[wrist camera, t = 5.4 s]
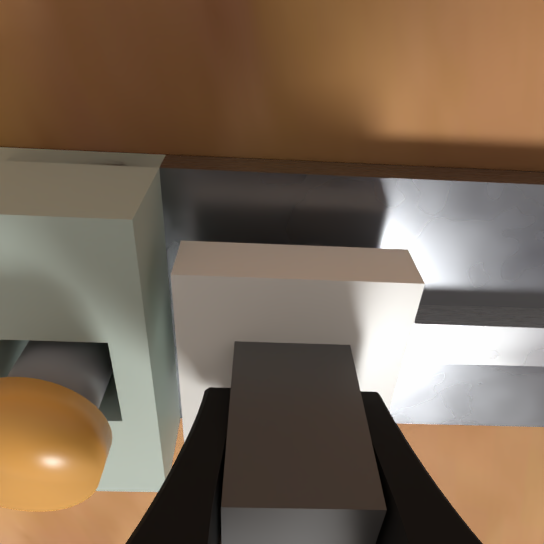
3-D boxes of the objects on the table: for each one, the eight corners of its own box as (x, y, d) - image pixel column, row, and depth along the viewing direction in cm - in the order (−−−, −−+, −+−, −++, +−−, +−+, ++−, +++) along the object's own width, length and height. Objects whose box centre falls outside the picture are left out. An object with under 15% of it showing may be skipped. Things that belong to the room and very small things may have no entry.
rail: (663, 177, 14) (717, 207, 12) (538, 406, 19) (564, 449, 18) (-16, 146, 13) (-57, 173, 11) (57, 394, 19) (36, 437, 17)
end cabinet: (165, 154, 13) (132, 219, 10) (184, 397, 19) (166, 492, 15) (-16, 146, 13) (-113, 209, 10) (57, 394, 19) (11, 489, 15)
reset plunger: (132, 297, 13) (86, 415, 10) (145, 389, 15) (110, 512, 12) (-2, 293, 13) (-96, 411, 9) (30, 385, 15) (-40, 510, 11)
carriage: (407, 249, 12) (503, 442, 7) (365, 422, 16) (409, 626, 11) (180, 240, 12) (123, 433, 7) (192, 417, 16) (159, 623, 11)
